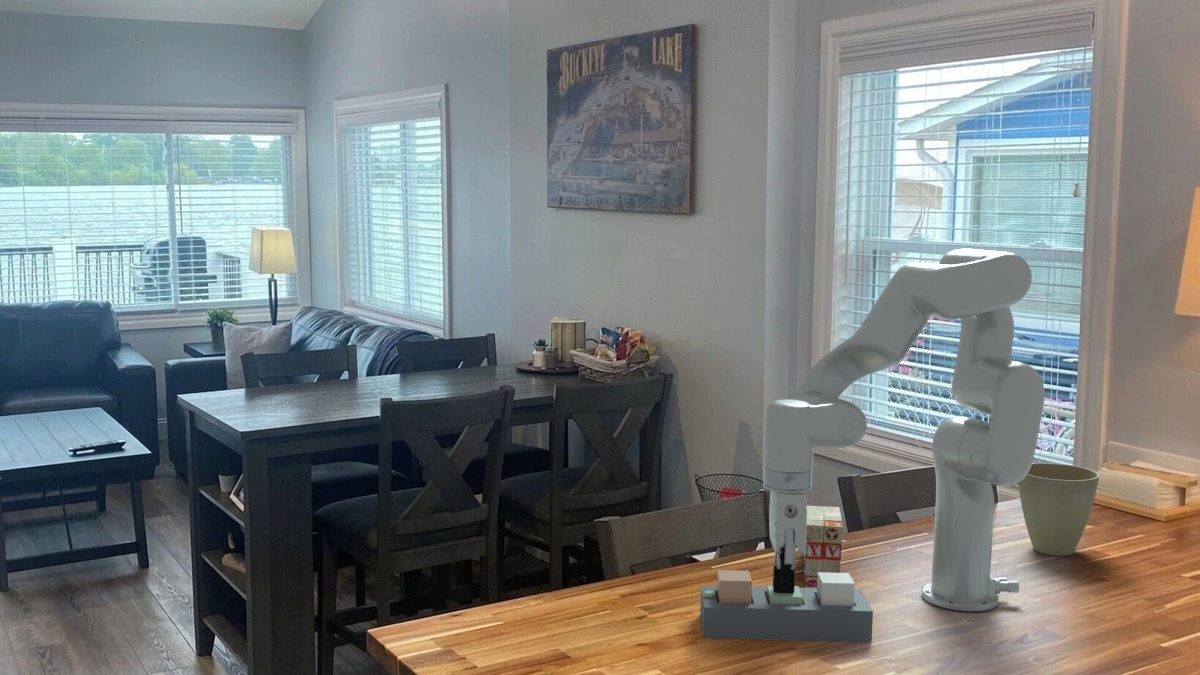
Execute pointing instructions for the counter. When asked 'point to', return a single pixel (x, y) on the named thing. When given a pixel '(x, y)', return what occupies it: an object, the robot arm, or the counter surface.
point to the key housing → (785, 618)
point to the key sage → (784, 597)
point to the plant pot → (1057, 505)
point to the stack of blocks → (822, 543)
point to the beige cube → (734, 587)
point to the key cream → (835, 589)
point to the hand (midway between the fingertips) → (783, 591)
